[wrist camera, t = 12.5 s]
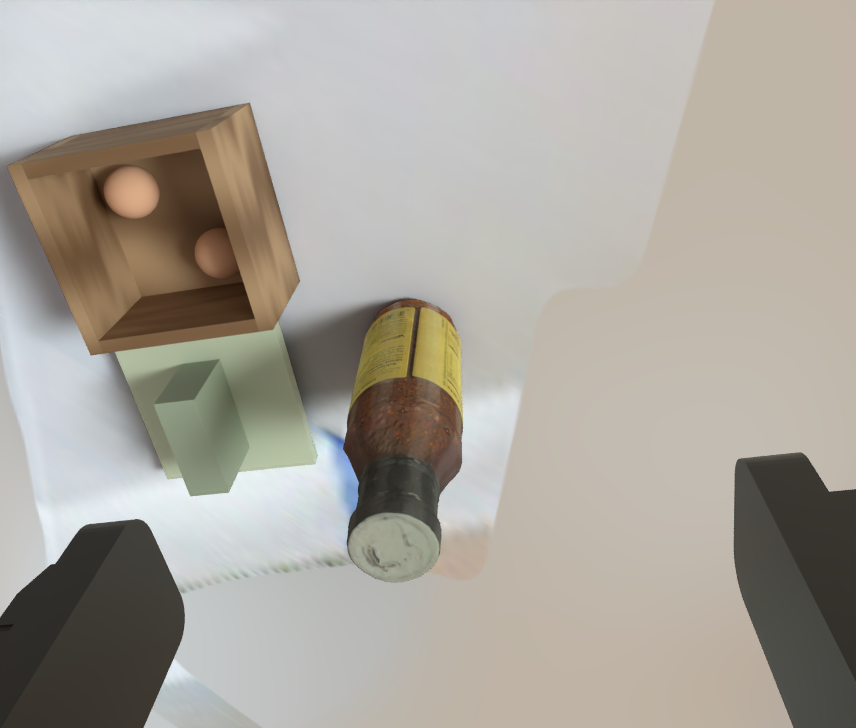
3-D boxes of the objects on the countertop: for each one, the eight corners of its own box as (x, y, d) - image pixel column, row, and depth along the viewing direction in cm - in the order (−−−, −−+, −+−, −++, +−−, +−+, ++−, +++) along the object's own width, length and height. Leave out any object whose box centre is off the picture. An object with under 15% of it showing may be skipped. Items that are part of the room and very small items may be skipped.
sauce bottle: (362, 370, 51) (299, 591, 34) (373, 286, 48) (309, 480, 31) (458, 386, 51) (445, 613, 34) (475, 303, 48) (469, 506, 31)
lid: (124, 331, 51) (75, 383, 45) (280, 310, 49) (252, 362, 43) (177, 462, 56) (140, 525, 50) (320, 447, 55) (299, 510, 48)
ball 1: (109, 164, 44) (85, 177, 42) (157, 155, 44) (136, 169, 41) (128, 213, 46) (106, 229, 43) (174, 205, 45) (155, 221, 43)
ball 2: (197, 224, 46) (180, 242, 43) (244, 217, 45) (229, 234, 43) (212, 270, 47) (197, 290, 45) (258, 263, 47) (245, 282, 44)
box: (72, 135, 44) (6, 166, 38) (249, 102, 43) (210, 129, 37) (139, 304, 50) (90, 355, 43) (299, 280, 48) (272, 330, 42)
